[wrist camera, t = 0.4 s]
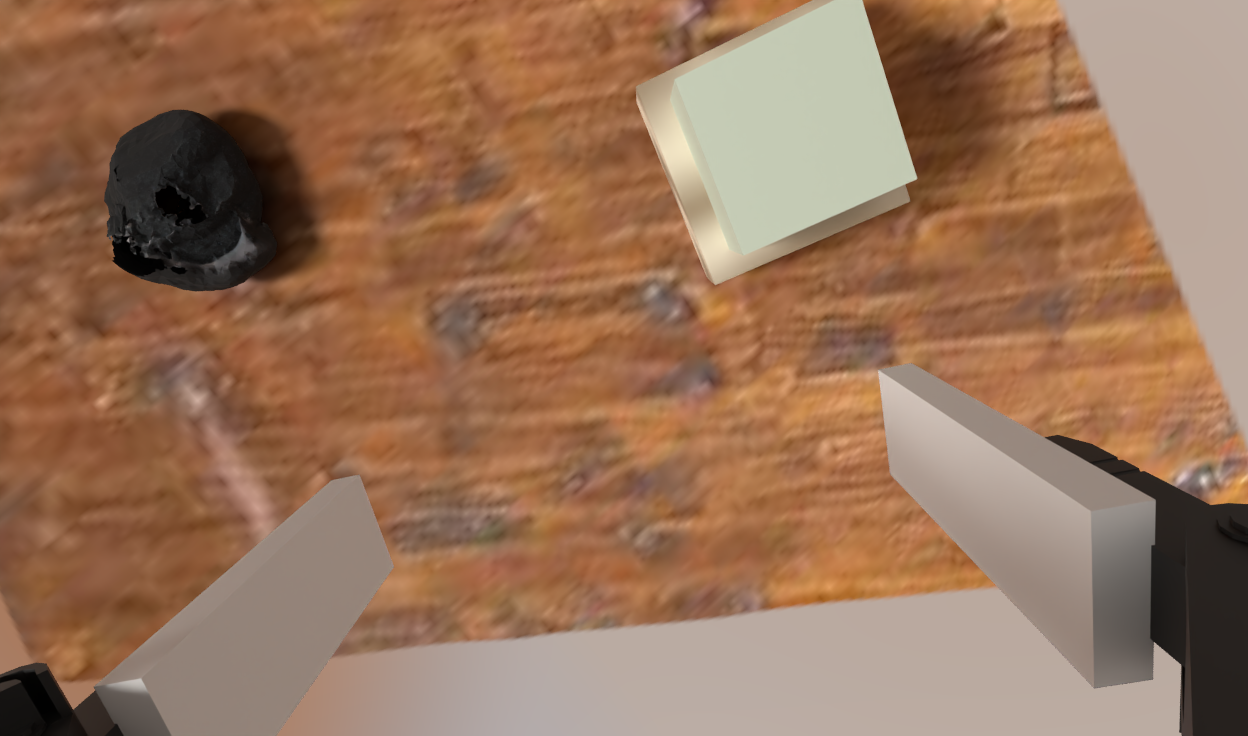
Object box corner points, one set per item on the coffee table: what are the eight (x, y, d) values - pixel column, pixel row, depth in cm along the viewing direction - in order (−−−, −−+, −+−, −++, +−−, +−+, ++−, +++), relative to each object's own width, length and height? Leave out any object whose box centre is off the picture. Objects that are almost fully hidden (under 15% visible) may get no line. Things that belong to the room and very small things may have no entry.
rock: (256, 239, 45) (155, 111, 39) (323, 241, 40) (218, 93, 34) (143, 311, 40) (6, 176, 34) (203, 325, 35) (52, 168, 28)
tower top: (670, 99, 32) (674, 78, 27) (824, 23, 31) (858, -12, 26) (729, 249, 34) (743, 255, 29) (877, 184, 33) (917, 179, 28)
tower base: (636, 103, 37) (635, 86, 32) (816, 16, 35) (844, -16, 30) (706, 276, 39) (715, 285, 34) (876, 203, 38) (910, 201, 33)
